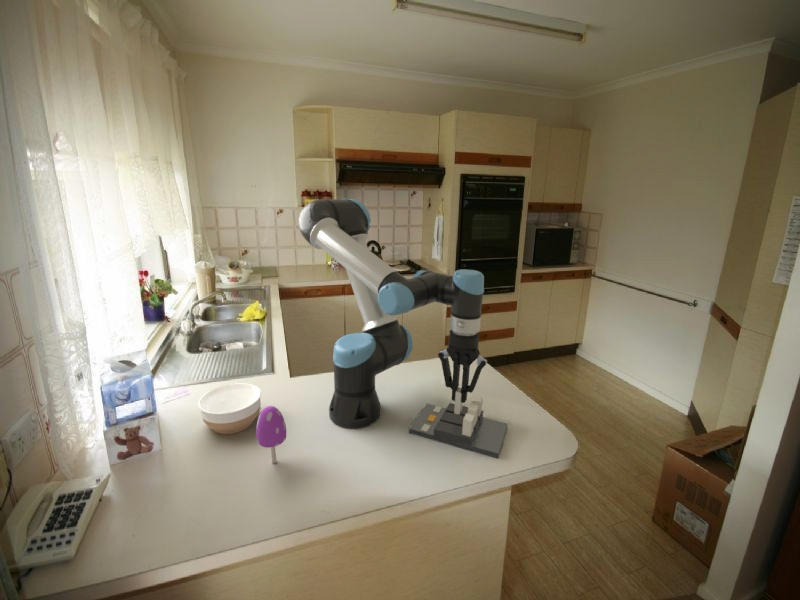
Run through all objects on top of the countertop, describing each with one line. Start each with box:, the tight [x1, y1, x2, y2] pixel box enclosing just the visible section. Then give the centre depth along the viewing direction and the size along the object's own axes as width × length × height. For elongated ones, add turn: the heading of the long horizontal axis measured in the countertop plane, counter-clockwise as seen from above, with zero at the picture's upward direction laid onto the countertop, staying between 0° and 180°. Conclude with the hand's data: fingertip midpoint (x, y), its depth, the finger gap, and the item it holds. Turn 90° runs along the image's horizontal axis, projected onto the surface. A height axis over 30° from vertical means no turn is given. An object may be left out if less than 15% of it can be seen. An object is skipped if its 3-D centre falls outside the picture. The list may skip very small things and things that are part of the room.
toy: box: [255, 405, 287, 464], centre depth 92 cm, size 7×7×15 cm
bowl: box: [197, 382, 262, 435], centre depth 108 cm, size 16×16×8 cm
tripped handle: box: [468, 403, 479, 426], centre depth 104 cm, size 2×3×4 cm
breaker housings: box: [434, 394, 484, 446], centre depth 106 cm, size 10×14×7 cm
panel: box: [408, 403, 509, 459], centre depth 107 cm, size 24×14×2 cm, turn 66°
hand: (458, 411), depth 106 cm, fingers closed
